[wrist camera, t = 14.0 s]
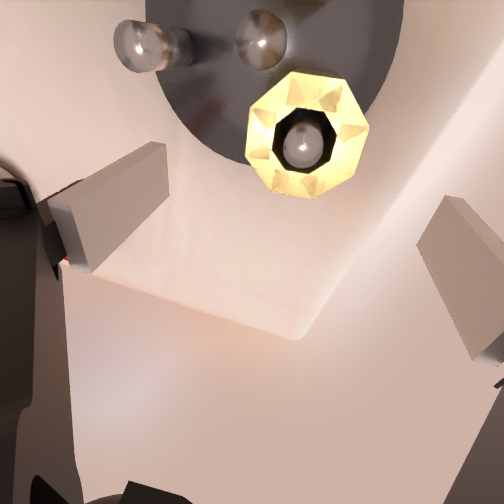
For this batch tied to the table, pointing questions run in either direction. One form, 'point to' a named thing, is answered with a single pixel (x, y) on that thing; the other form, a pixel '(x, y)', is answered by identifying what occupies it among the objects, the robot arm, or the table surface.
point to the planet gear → (334, 149)
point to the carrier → (259, 61)
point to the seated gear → (318, 1)
